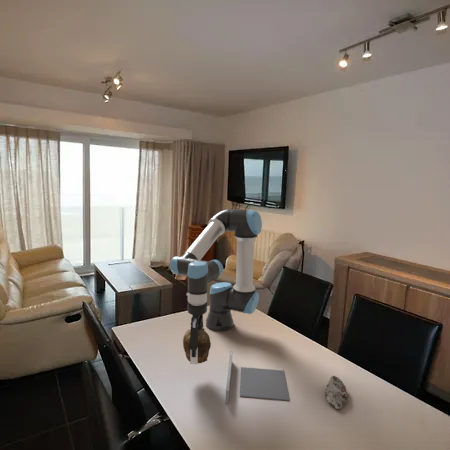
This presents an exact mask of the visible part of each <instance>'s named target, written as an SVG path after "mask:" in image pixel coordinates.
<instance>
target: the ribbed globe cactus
mask: <svg viewBox="0 0 450 450" xmlns="http://www.w3.org/2000/svg"><path fill="white" fill-rule="evenodd" d="M190 333H191V328H190V329H188V330H186V332H185V334H184V335H183V339H182V346H183V350H184V354H185V357H186V359H187V360H188V361H189V362H190V350H189V349H188V347H190ZM211 346H212V342H211V338H210V335H209V334H208V332H207V331H206V330H205V329H204V330H203V329H200V330H199V334H198V344H197V347H198V364H202V363H205V362H207V361H208V357H209V353H210V349H211Z"/></svg>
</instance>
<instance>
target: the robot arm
mask: <svg viewBox="0 0 450 450" xmlns="http://www.w3.org/2000/svg"><path fill="white" fill-rule="evenodd" d="M262 224H263V221H262V216H261V214H260V212H258V211H257V210H253V209H244V208H241V209H240V208H226V209H224V210H221V211H218V212H217V213H216V214H215V215H213V216H212V217H211V218H210V219H209V221H208V222H207V226H206V227H205V228H203V229H204V230H202V232H201V233H200V234H199V235H198V236H197V237H196V238H195V240H194V241H193V242H192V243H191V244H190V246H189V247H188V248H187V249H186V250H185V251H184V252H183V254H182V255H181V256H180V255H179V256H178V255H177V256H173V257H172V258H171V260H170V263H169V268H170V271H171V273H173V274H175V275H179V276H186V277H187V292H186V294H185V295H186V296H187V309H186V310H187V313H189V315H192V317H191V319H190V329H191V333H190V347H188V349H189V350H190V361H189V364H190V365H198V364H199V363H198V347H197V344H198V334H199V330H200V329H203V330H204V331H205V328H204V315H205V314H206V313H207V311H208V314H207V317H206V318H205V326H206V327H207V328H208V329H210V330H212V331H217V332H219V331H220V332H221V331H222V332H224V331H228V330H231V329H232V328H233V327H234V319H233V315H232V312H231V311H234V312H238V313H241V314H242V313H243V314H248V315H252V314H253V313H254V312H255V311H256V309H257V307H258V304H259V300H260V293H259V292H257V291H256V286H255V285H254V284H253V283H254V282H253V281H254V255H255V254H254V253H255V252H254V251H255V249H254V247H255V240H256V238H258V235H260V233H261V232H262V228H263V225H262ZM225 232H233V234H234V235H233V236H234V238H235V239H236V272H235V273H236V275H235V276H236V277H235V279H236V280H235V284H234V285H232V283H230V282H225V281H223V282H216V283H214V284H212V285H211V286H210V288H209V309H208V302H207V301H208V285H209V283H211V282H212V281H214V280H216V279H218V278H219V277H220V276H222V274H223V272H224V266H223V264H222V262H220V260H218V259H211V260H209V261H208V260H202V259H203V257H204V256H205V255H206V253H207V252H208V251H209V250H210V248H211V247H212V245H213V244H214V243H215V242H216V240H217V239H218V238H219V236H222V235H223V234H224V233H225Z"/></svg>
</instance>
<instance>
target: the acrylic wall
mask: <svg viewBox="0 0 450 450" xmlns="http://www.w3.org/2000/svg"><path fill="white" fill-rule="evenodd" d="M228 361H229V362H228V368H227V378H226V386H225V387H226V388H225V404H227V405H229V399H230V390H231V388H230V387H231V377H232V370H233V369H232V366H233V351H230V353H229V360H228Z"/></svg>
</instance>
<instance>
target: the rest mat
mask: <svg viewBox="0 0 450 450" xmlns="http://www.w3.org/2000/svg"><path fill="white" fill-rule="evenodd" d="M239 397H240V398H250V399H251V398H252V399H253V398H254V399H260V400H261V399H264V400H265V399H266V400H276V401H290V397H289V391H288V385H287V380H286V374H285V370H284V369H283V370H281V369H271V368H270V369H269V368H258V367H257V368H255V367H247V366H240V381H239Z"/></svg>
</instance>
